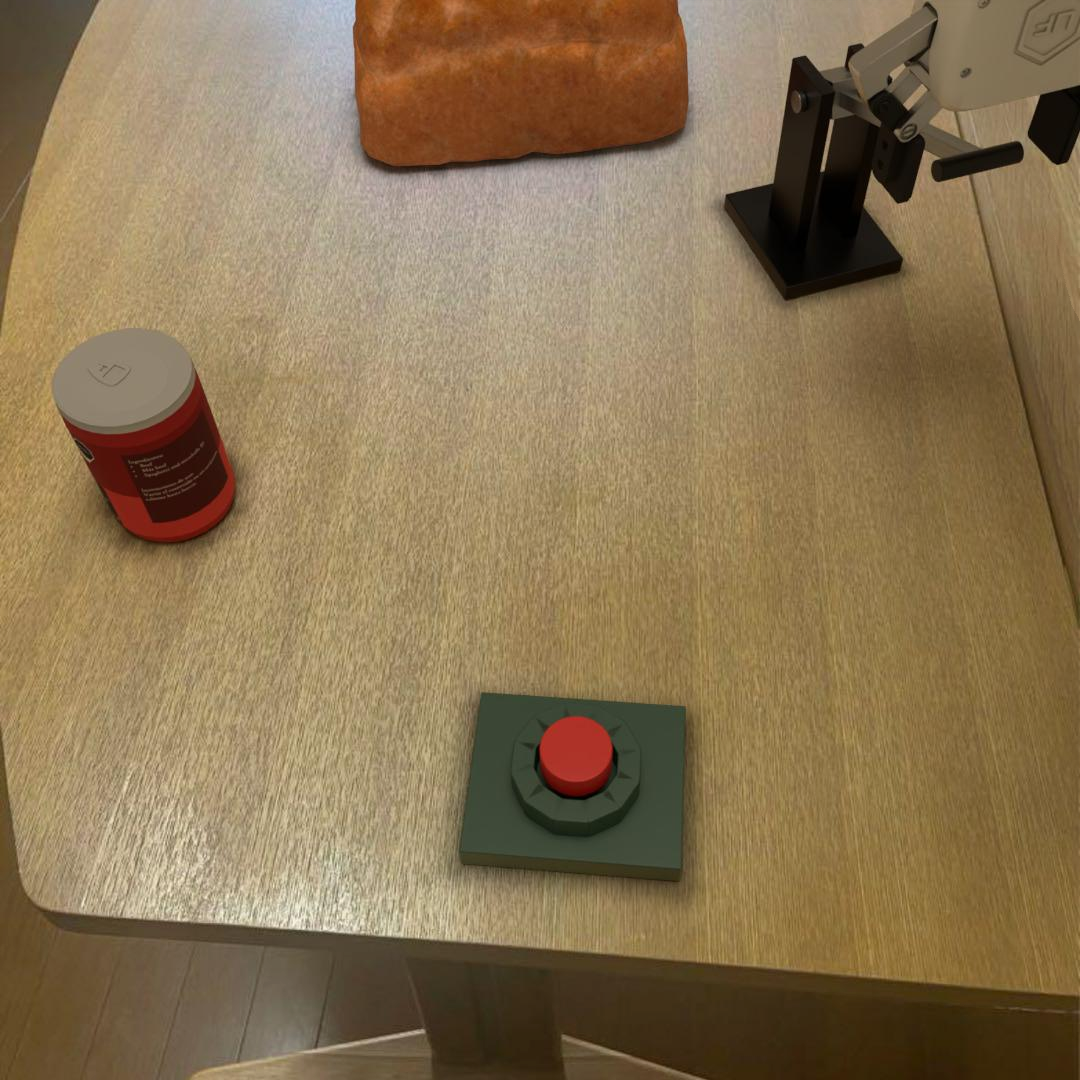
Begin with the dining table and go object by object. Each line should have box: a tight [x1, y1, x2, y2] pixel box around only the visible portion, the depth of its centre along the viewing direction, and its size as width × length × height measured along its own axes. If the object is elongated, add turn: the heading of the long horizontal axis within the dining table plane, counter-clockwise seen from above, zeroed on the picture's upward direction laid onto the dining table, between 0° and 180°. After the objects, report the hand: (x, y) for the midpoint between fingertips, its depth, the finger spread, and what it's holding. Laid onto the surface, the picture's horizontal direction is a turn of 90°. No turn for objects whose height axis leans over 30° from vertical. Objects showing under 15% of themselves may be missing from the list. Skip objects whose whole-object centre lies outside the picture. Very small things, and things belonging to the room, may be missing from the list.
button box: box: [458, 691, 687, 882], centre depth 61 cm, size 11×9×4 cm
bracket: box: [723, 42, 904, 301], centre depth 82 cm, size 11×9×14 cm
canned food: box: [51, 327, 236, 543], centre depth 71 cm, size 8×8×11 cm
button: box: [540, 716, 613, 796], centre depth 59 cm, size 4×4×2 cm
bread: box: [352, 0, 690, 167], centre depth 92 cm, size 14×26×16 cm, turn 96°
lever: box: [818, 65, 1025, 183], centre depth 72 cm, size 18×5×2 cm, turn 18°
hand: (969, 169), depth 66 cm, fingers open, 9 cm apart
